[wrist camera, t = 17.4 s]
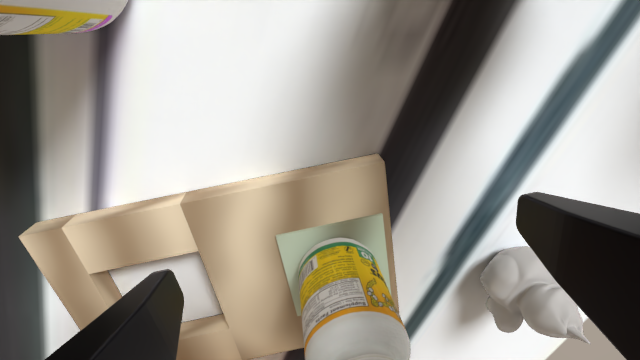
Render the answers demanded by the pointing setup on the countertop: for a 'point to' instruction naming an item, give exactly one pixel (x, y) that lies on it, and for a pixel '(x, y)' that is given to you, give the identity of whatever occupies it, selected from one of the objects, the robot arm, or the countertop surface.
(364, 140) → the countertop surface
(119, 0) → the supplement bottle
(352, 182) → the socket board
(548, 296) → the rubber duck
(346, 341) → the supplement bottle
